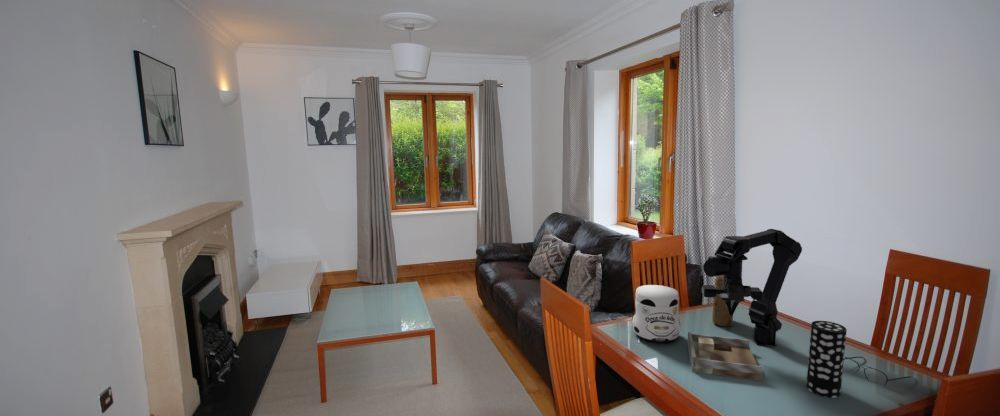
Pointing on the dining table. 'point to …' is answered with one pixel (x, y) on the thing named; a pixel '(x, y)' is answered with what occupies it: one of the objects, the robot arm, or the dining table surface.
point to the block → (720, 306)
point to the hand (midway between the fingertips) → (730, 315)
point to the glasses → (873, 368)
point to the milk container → (656, 313)
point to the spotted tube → (826, 358)
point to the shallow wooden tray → (724, 358)
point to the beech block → (705, 347)
